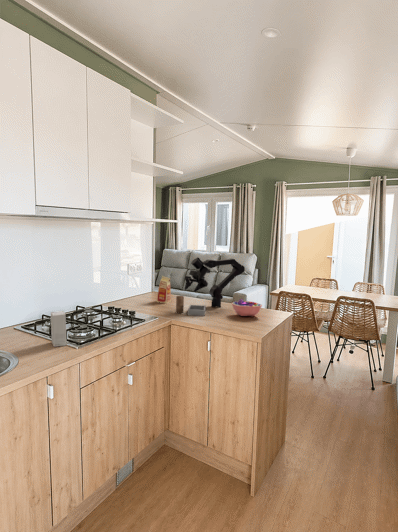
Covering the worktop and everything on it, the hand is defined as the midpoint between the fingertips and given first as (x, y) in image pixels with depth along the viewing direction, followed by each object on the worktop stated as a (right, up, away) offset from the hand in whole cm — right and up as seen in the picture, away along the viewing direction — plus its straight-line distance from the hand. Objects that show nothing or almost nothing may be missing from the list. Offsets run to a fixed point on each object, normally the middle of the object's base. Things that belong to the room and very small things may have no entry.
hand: (189, 290), depth 235 cm
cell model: (+38, -17, -9) cm, 42 cm away
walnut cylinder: (-7, -14, -7) cm, 17 cm away
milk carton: (-20, -11, +26) cm, 35 cm away
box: (+5, -15, -6) cm, 17 cm away
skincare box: (-60, -20, -75) cm, 98 cm away
